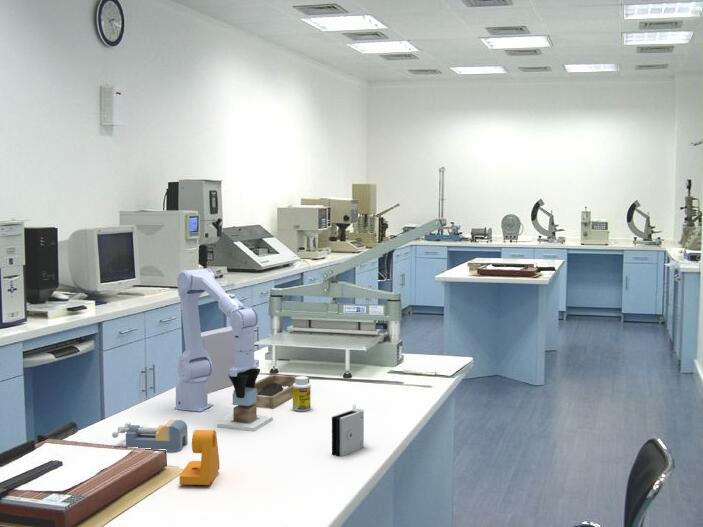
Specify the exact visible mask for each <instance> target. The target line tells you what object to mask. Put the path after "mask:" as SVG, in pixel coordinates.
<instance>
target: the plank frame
mask: <svg viewBox="0 0 703 527" xmlns="http://www.w3.org/2000/svg"><path fill="white" fill-rule="evenodd" d="M296 377H297V376H293V375H282V374H270V375H268V376H266V377H264V378H262V379H260V380H258V381H256V382H255V386H254V388H257V394H258V393H259V392H260V391H262V389H263V388H264V387H265V386H266V385H267V384H269V383H278V384H281V385H282V387H286V386H290V387H286V388H285V389H284V388H283V390H282V391H281V392H279V393H277V394H275V395H273V396H262V395H257V402H255V403H253V404H251V405H256V408H264V409H266V408H267V409H273V408H274V409H275V408H277V407H279V406H281V405H282V404H284V403H286V402H288V401H289V400H291V399H293V398H292V397H293V384H294V383H295V378H296ZM308 383H309V384H310V377H308ZM290 398H291V399H290ZM285 401H286V402H285ZM283 402H284V403H283ZM233 405H234V406H235V405H236V406H238V405H237V404H233Z"/></svg>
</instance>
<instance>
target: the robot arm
mask: <svg viewBox="0 0 703 527" xmlns="http://www.w3.org/2000/svg"><path fill="white" fill-rule="evenodd" d="M215 275H216V274H215V273H214V272H213V271H212V270H211V269H210V268H208V267H207V268H206V267H204V268H197V269H190V270H189V269H183V270H181V271H180V272H179V274H178V275H177V277H176V282H177V291H178V292H177V293H178V294H177V295H178V296H179V300H180V301H179V302H180V310H181V311H180V312H181V319H182V320H181V322H182V327H183V338H184V339H183V340H184V348H185V349H184V351H183V353H181V355H179V357H178V366H177V374H178V376H179V378H180V379H179V380H178V381H177V383H176V387H175V407H174V409H175V410H182V411H188V412H189V411H190V412H201V413H202V412H203V411H204V410H207V409H209V408H211V407H213V406H214V404H213V403H209V402H208V401H209V399H208V393H207V380H208V379H209V376H210V375H211V374H212V371H213V365H212V362H211V360H210V354H209V353H208V352H207V351H205V350H204V349H203V348H202V338H201V333H202V330H201V321H200V320H201V319H200V312H199V301H198V299H199V298H200V296H201V295H203V294H204V293H208V295H210V296H211V297H212V298H213V299H214V300H215V301H217V306H218V308H219V310H221V312H222V313H224V315H225V316H226V317H227V318H228V319H229V324H230V326H231V327H232V333H233V335H234V351H235V364H234V366H233V367H232V368H231V369H230V370H229V378H230V380H231V381H232V383H233V385H232V386H233V388H234V390H235V393H236V396H237V398H244V395H245V387H248V388H254V386H255V383H256V382H257V379H258V376H259V374H260V372H261V369H260V368H259V366H260V361H259V359H255V327H256V326H257V325H258V322H259V316H258V313H257V311H256V309H255V308H254V307H248V306H245V304H243V303H242V301H240V300H239V299H238V298H237V297H236V295H235V294H234V293H227V292H226V291H225V289H223V287H222V286H221V285H220V284H219V283H218V281H217V280H216V276H215ZM195 358H200V359H195ZM191 359H194V360H191Z"/></svg>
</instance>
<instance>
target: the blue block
mask: <svg viewBox="0 0 703 527" xmlns="http://www.w3.org/2000/svg"><path fill="white" fill-rule="evenodd" d="M255 402H257V388H248V387H245V395H244V398H237V396H236V393H235V389H234V390H233V392H232V405H234V404H237V405H236V406H238V405H245V406H250V405H251V404H253V403H255Z"/></svg>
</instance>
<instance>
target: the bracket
mask: <svg viewBox="0 0 703 527" xmlns="http://www.w3.org/2000/svg"><path fill="white" fill-rule="evenodd" d="M217 436H218V435H217V431H216V430H215V429H194V430H193V432H192V438H191V450H192V453H193V454H201V457H200V460H191V461H189V462H188V463H187V464H186V465H185V467H184V469H183V470H182V471H181V472H180V474H179V484H180V485H194V486H195V485H199V486H200V485H201V486H202V485H203V486H209V485H213V484H214V481H215V480H216V479H217V476H218V472H219V470H220V469H221V468H220V455H219V454H220V453H219V447H218V438H217Z"/></svg>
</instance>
